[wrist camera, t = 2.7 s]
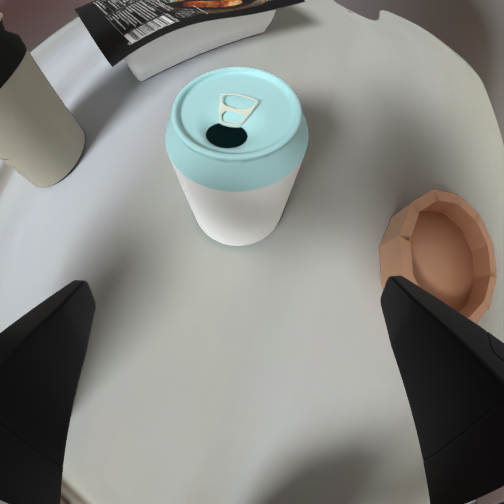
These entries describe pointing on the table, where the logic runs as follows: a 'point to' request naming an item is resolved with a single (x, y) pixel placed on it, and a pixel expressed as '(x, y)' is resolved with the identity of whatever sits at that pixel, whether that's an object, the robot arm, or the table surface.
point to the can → (237, 150)
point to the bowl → (442, 252)
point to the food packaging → (171, 28)
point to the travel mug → (34, 118)
